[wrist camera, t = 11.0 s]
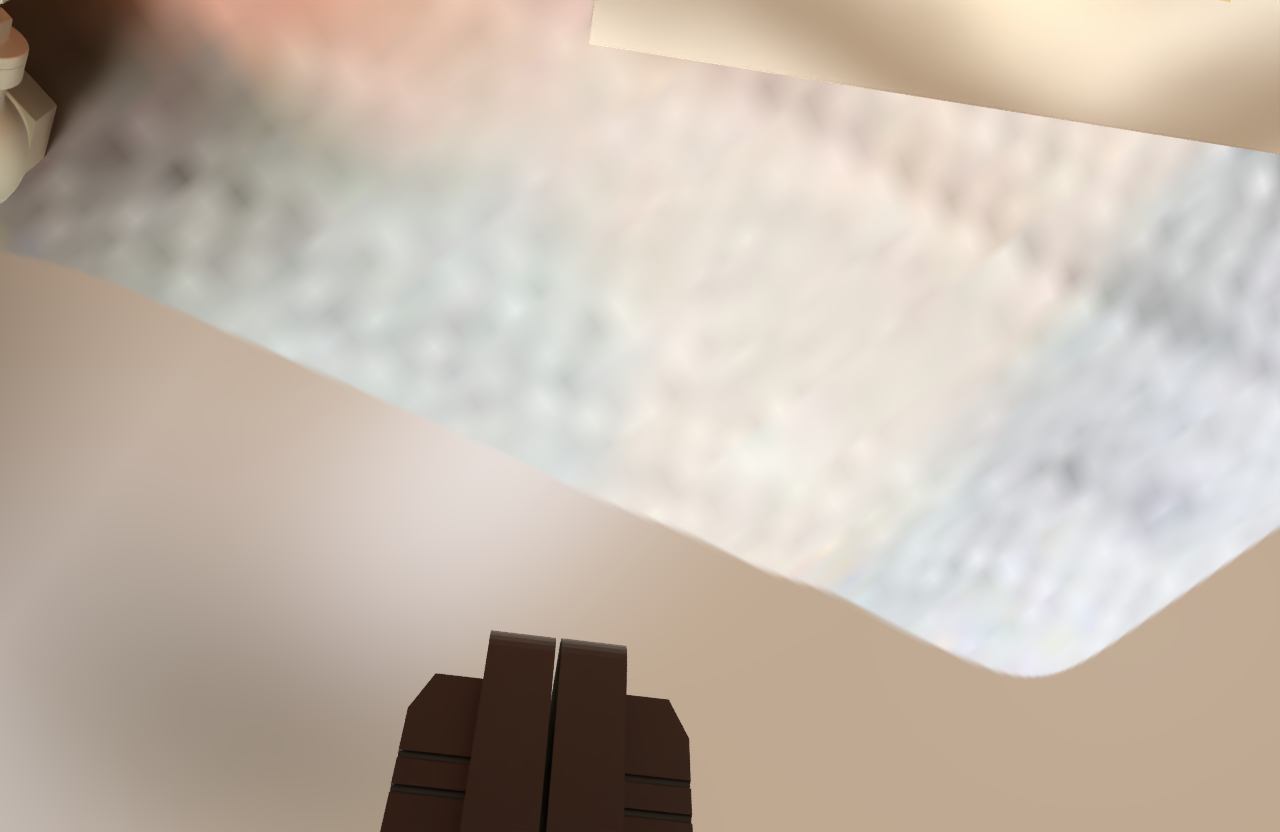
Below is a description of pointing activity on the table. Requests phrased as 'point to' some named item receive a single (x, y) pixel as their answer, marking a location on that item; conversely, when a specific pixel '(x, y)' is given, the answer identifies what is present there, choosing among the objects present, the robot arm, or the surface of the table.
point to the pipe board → (999, 54)
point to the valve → (20, 110)
